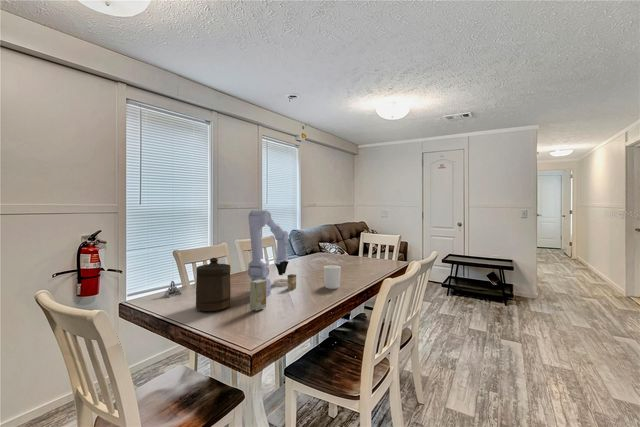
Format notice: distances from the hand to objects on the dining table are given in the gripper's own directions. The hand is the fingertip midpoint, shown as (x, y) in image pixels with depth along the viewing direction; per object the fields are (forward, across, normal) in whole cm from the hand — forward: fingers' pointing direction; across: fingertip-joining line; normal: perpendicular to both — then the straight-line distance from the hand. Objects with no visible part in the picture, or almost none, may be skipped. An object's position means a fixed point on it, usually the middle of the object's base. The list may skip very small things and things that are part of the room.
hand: (281, 274), depth 173 cm
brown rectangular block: (+6, +8, +9) cm, 14 cm away
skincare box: (+6, +42, +5) cm, 43 cm away
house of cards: (+7, +32, -49) cm, 59 cm away
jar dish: (+6, 0, 0) cm, 6 cm away
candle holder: (+6, -1, +30) cm, 31 cm away
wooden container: (+6, +44, -16) cm, 47 cm away
